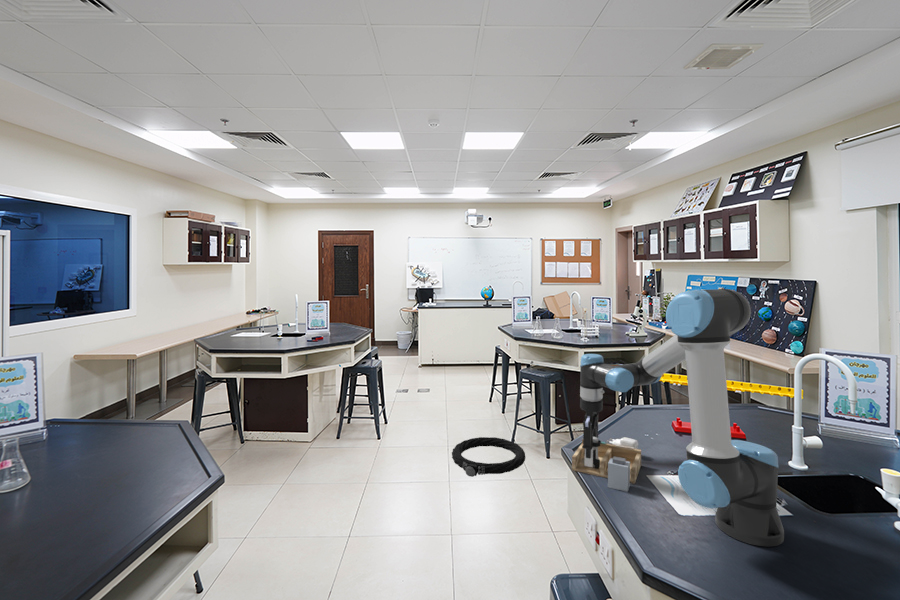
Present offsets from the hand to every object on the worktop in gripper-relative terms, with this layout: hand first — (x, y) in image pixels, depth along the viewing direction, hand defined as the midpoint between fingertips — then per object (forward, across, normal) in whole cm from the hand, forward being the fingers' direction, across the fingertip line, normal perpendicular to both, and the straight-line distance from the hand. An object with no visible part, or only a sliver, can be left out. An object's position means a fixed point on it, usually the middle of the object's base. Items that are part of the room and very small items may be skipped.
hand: (590, 462), depth 153 cm
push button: (+1, -1, 0) cm, 1 cm away
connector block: (+2, -9, -11) cm, 14 cm away
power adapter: (+2, +19, -8) cm, 20 cm away
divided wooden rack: (+2, +3, -5) cm, 6 cm away
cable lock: (+3, -12, +35) cm, 37 cm away
